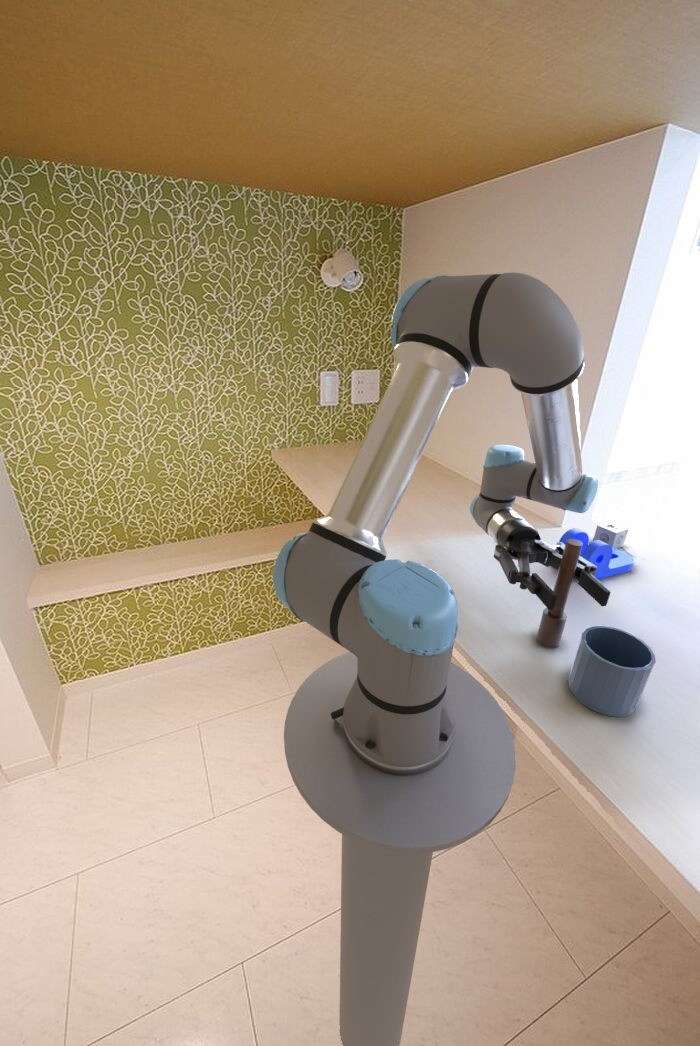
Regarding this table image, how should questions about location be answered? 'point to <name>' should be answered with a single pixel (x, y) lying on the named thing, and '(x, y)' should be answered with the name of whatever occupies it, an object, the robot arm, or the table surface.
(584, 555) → the bracket
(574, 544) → the muddler
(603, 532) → the dice cube
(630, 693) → the blue faceted pencil cup
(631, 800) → the table surface
